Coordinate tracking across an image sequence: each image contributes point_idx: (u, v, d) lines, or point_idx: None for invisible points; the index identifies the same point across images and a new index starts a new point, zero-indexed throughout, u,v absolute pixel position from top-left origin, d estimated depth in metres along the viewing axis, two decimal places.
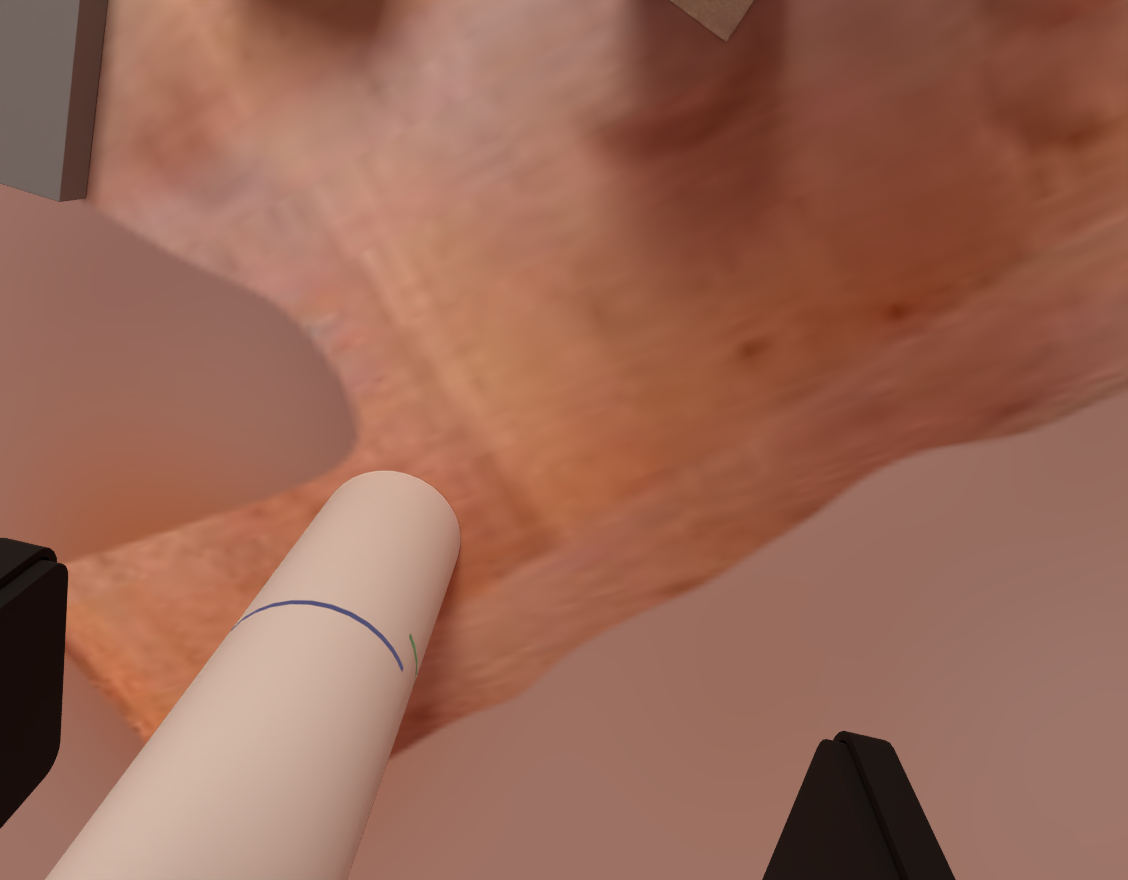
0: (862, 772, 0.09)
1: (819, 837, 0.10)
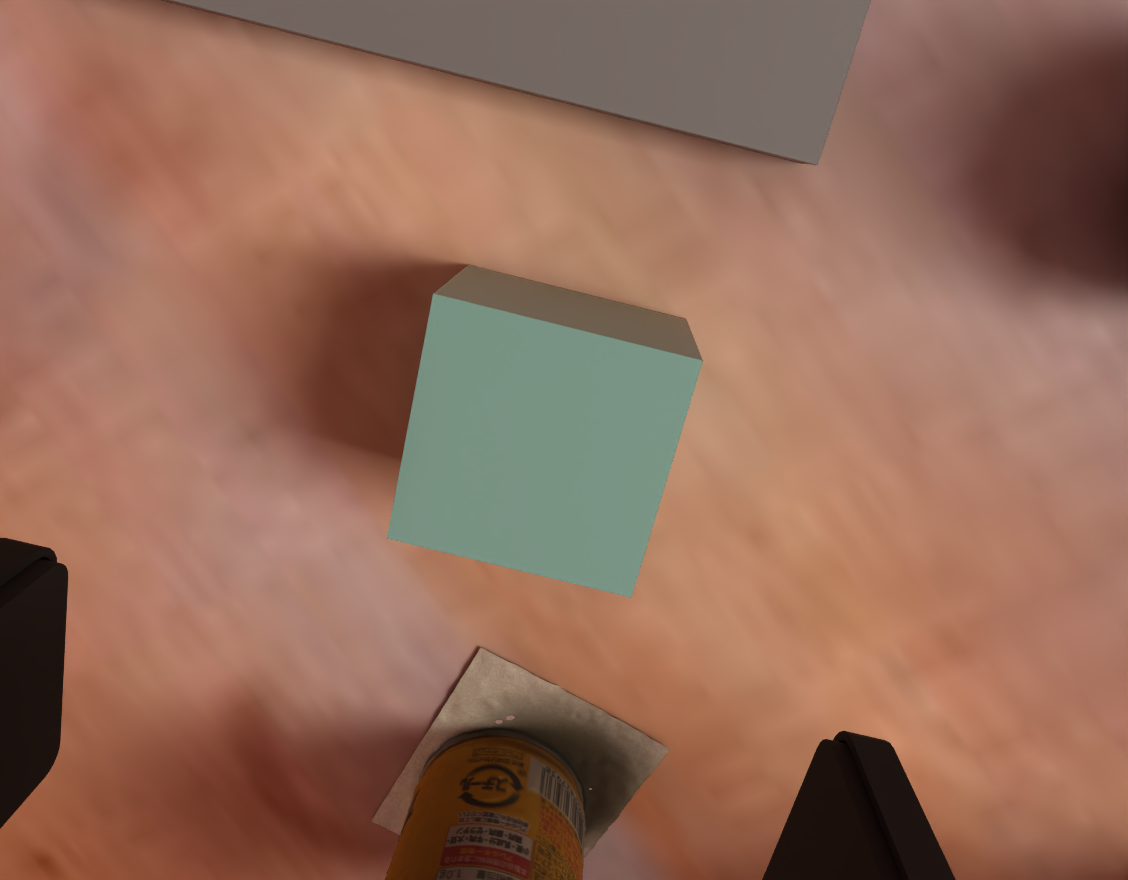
0: (862, 772, 0.09)
1: (819, 837, 0.10)
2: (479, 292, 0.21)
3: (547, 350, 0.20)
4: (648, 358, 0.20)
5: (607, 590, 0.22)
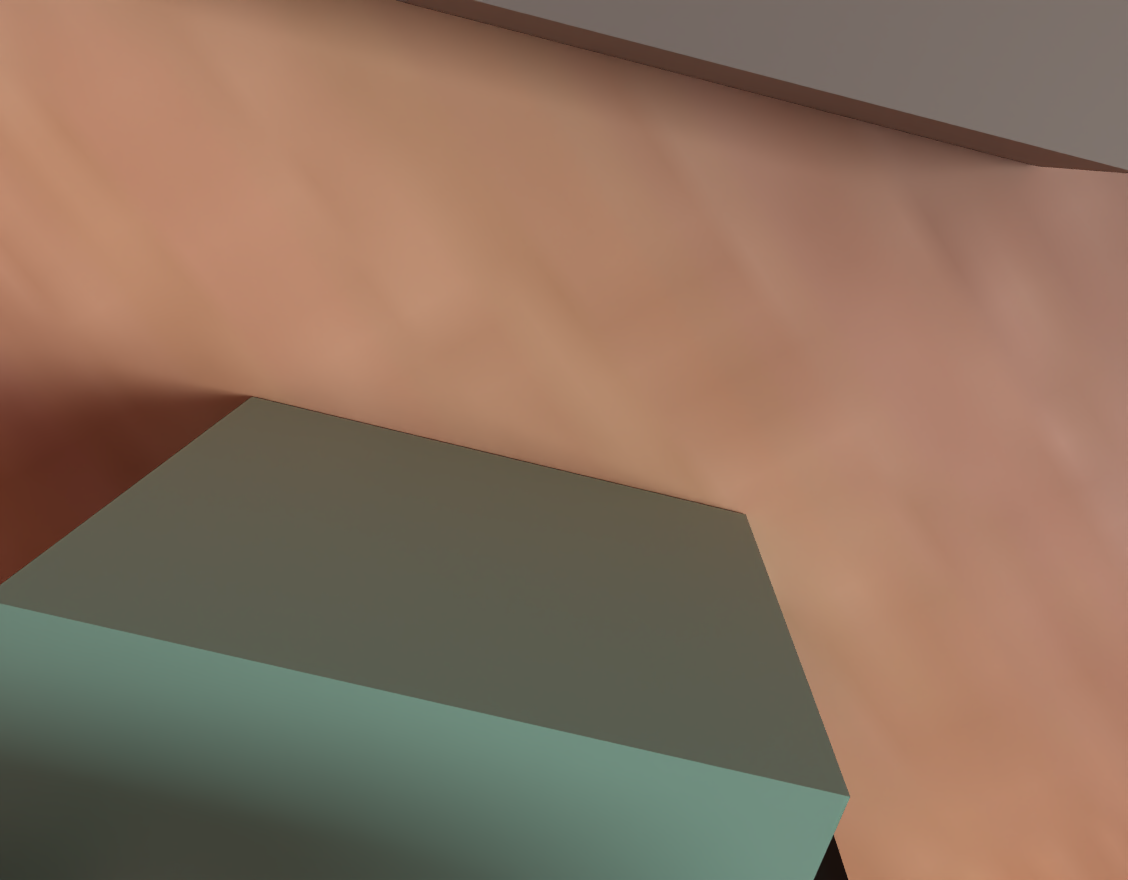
0: None
1: None
2: (193, 537, 0.08)
3: (362, 761, 0.06)
4: (678, 786, 0.06)
5: None
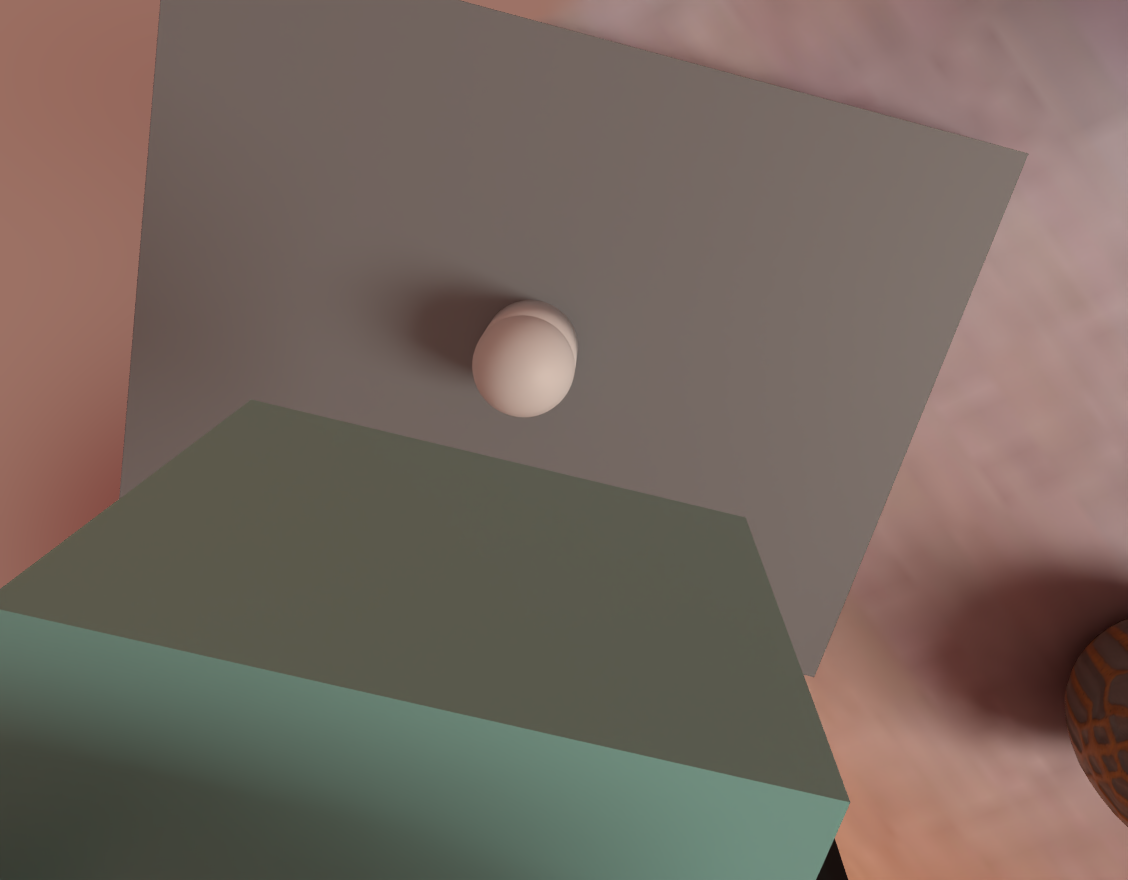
0: None
1: None
2: (192, 542, 0.08)
3: (361, 766, 0.06)
4: (678, 792, 0.06)
5: None
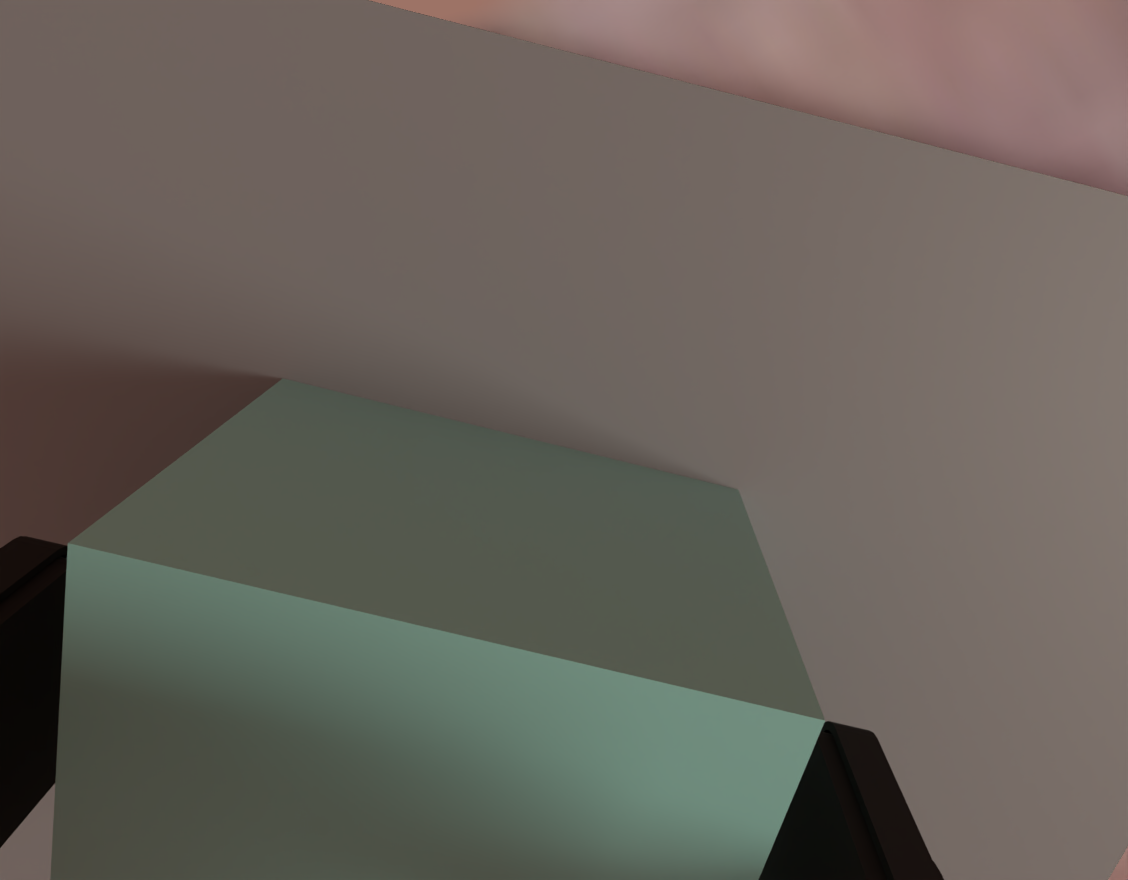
0: (845, 761, 0.10)
1: (803, 825, 0.10)
2: (243, 497, 0.08)
3: (398, 688, 0.07)
4: (675, 711, 0.07)
5: None
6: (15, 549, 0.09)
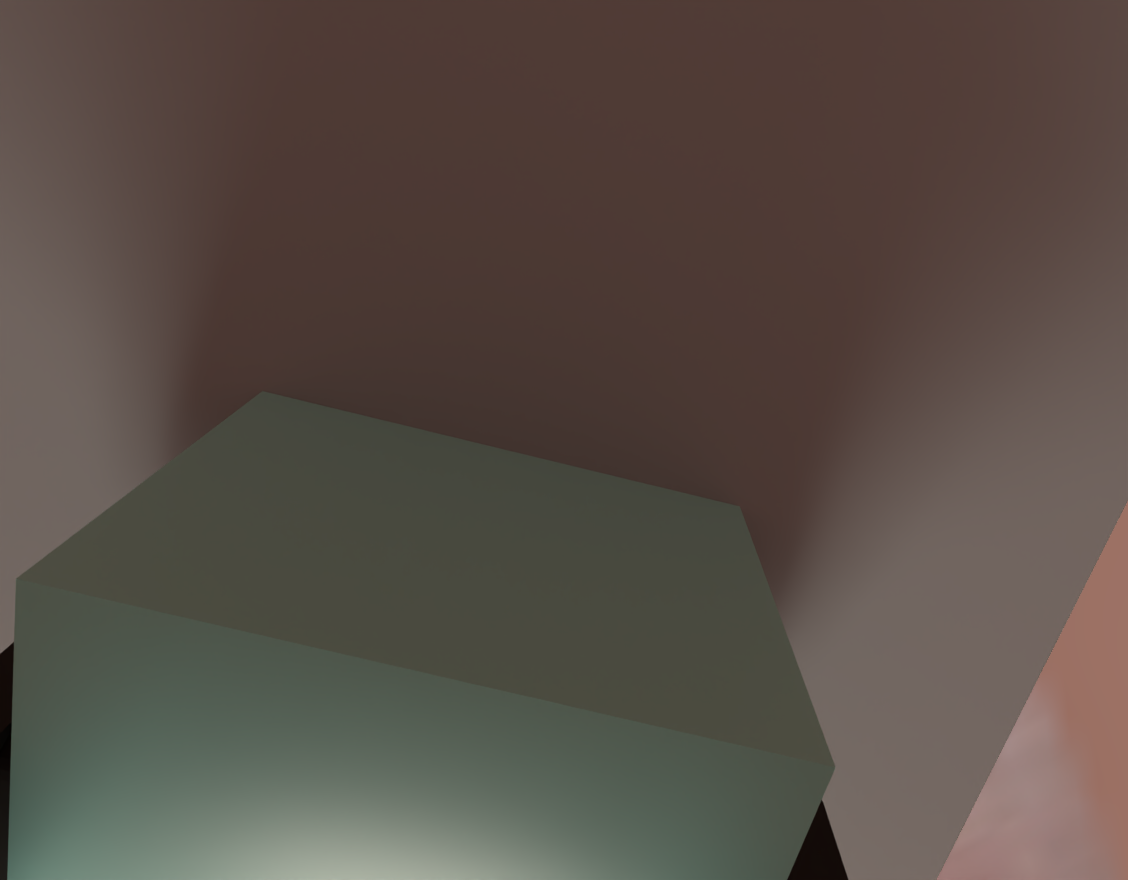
0: None
1: None
2: None
3: None
4: None
5: None
6: None
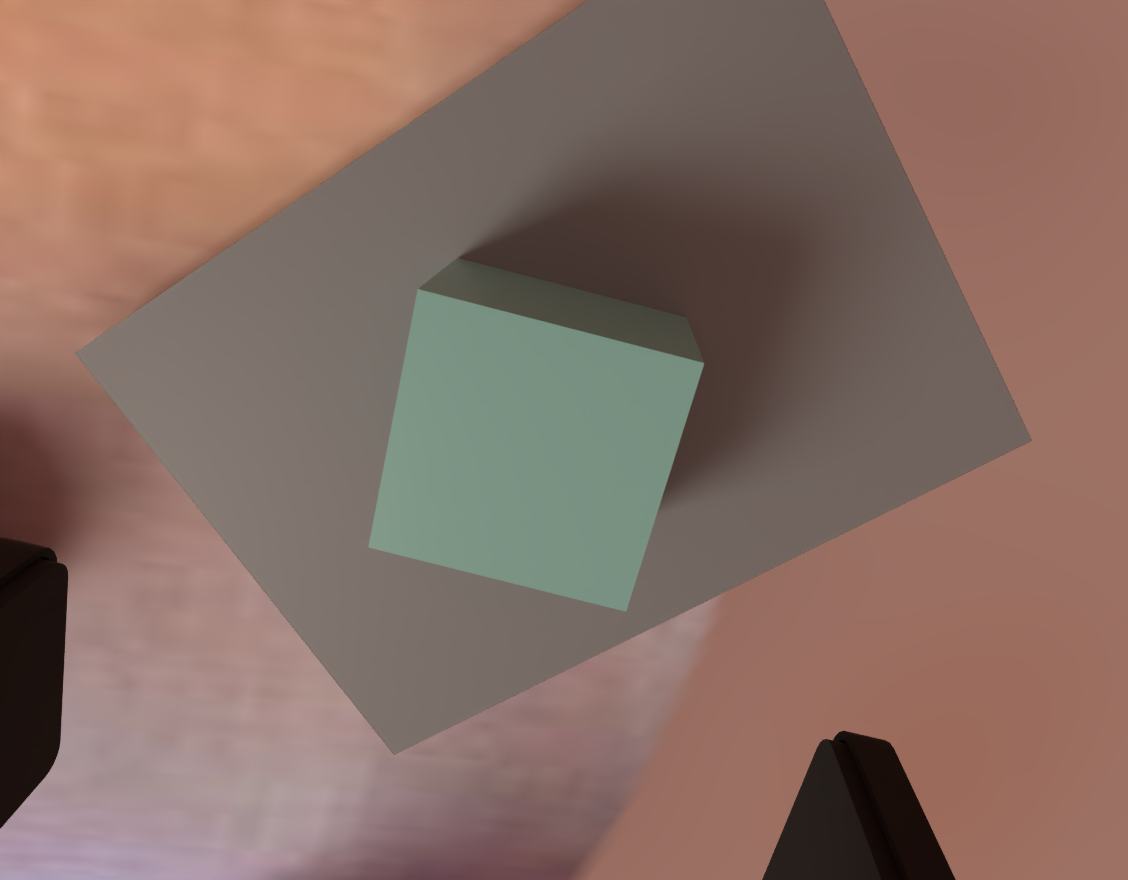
0: (862, 772, 0.09)
1: (819, 837, 0.10)
2: None
3: (639, 473, 0.20)
4: (629, 565, 0.21)
5: (374, 524, 0.21)
6: None
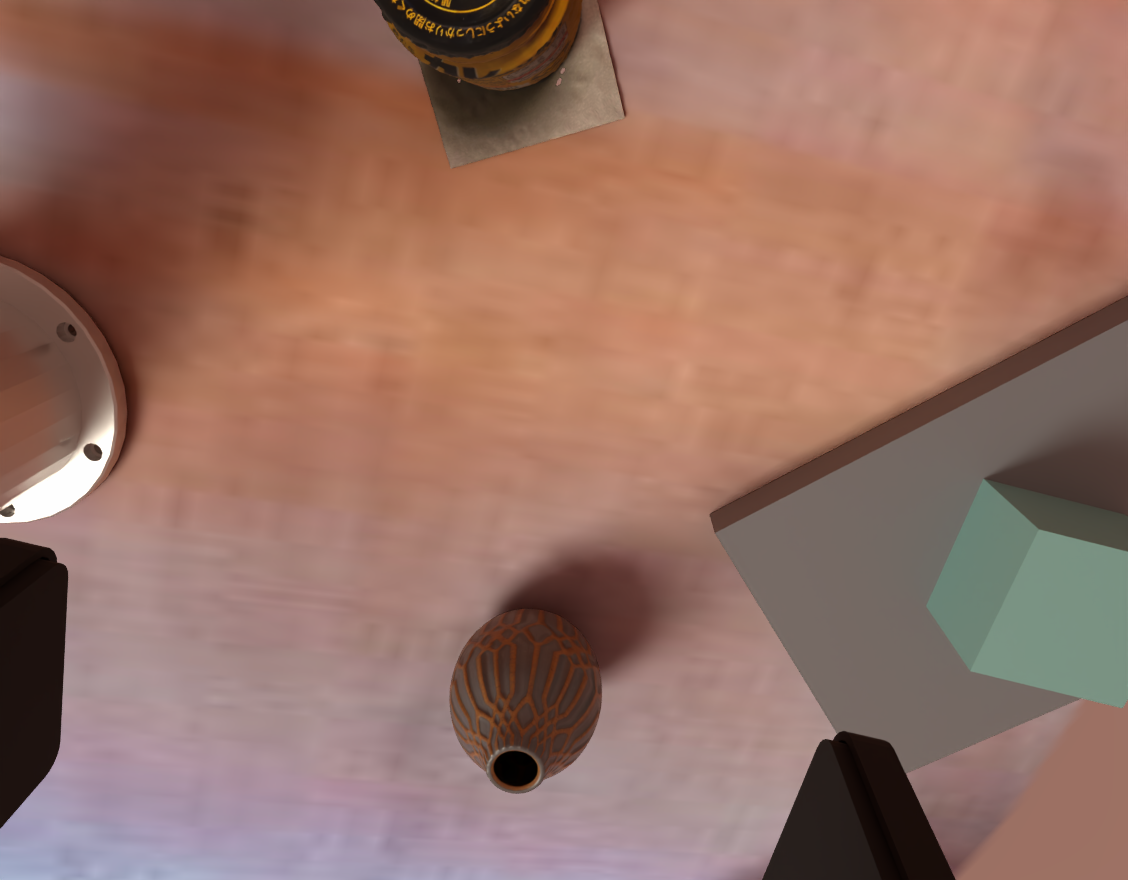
0: (862, 772, 0.09)
1: (819, 837, 0.10)
2: None
3: None
4: None
5: (978, 658, 0.34)
6: None
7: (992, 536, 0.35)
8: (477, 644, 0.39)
